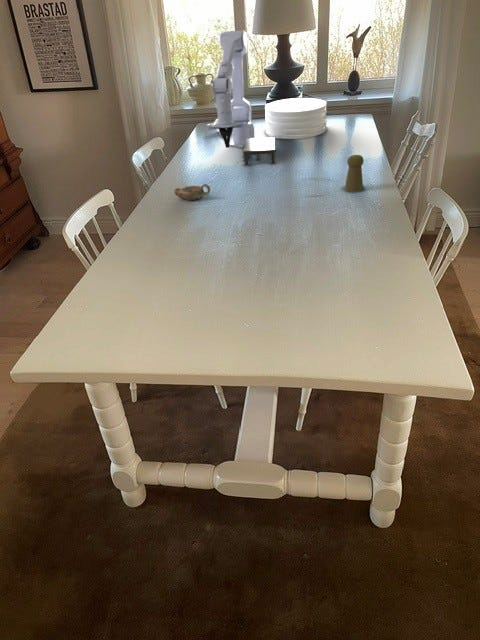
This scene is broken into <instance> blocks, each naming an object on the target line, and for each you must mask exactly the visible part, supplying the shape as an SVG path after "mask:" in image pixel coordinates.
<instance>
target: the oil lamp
mask: <svg viewBox="0 0 480 640" xmlns="http://www.w3.org/2000/svg"><path fill="white" fill-rule="evenodd" d="M204 188H206V189H207V191H204ZM173 192H174V195H175V196H176V197H178V198H181V199H184V200H187V201H196V200H198V199H200V198H202V196H203V195H205V196H206V195H208V194H210V192H211V187H210V185H209V184H207V183H204V184H202V185H201V186H200V185H189V186H187V185H186V186H184V187H180V188H179V187H177V188H175V189H174V190H173Z"/></svg>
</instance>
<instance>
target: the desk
mask: <svg viewBox="0 0 480 640" xmlns="http://www.w3.org/2000/svg"><path fill="white" fill-rule="evenodd" d="M275 142H276V138H275V137H271V136H269V137H255V138H252V139H246V141H245V147H244V158H243V160H244V159H245V161H244V166H249V165H250V164H249V162H250V161H249V156H255V155H270V163H271V165H275V164H276V155H275V152H276V145H275Z"/></svg>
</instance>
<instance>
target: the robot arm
mask: <svg viewBox="0 0 480 640" xmlns="http://www.w3.org/2000/svg"><path fill="white" fill-rule="evenodd" d="M219 43H220V47H221V49H222V61H220V62H219V64H218V67H217V72H216V77H215V78H214V79H213V80H212V92H213V95H214V96H213V97H214V100H215V103H216V114H217V119H218V123H214V122H212V123H207V124H206V127H207V131H211V130H216V129H219V131H218V133H219V134H220V136H221V138H222V140H223V142H224V146H225V148H226V149H229V148H230V146H232V147H237V148H243V142H245V141H246V139H252V138H256V136H255V126H254V123H253V122H251V121H252V117H253V116H252V115H253V114H252V106H251V103H250V102H249V101H248V100H247V99H245V93H244V92H245V86H244V56H245V55H247V53H248V36H247V33H246V31H245V29H241V30H230V31H228V30H227V31H221V33H220V35H219ZM231 94H232V97H231ZM226 128H227V129H226ZM231 137H232V142H231Z"/></svg>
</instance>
